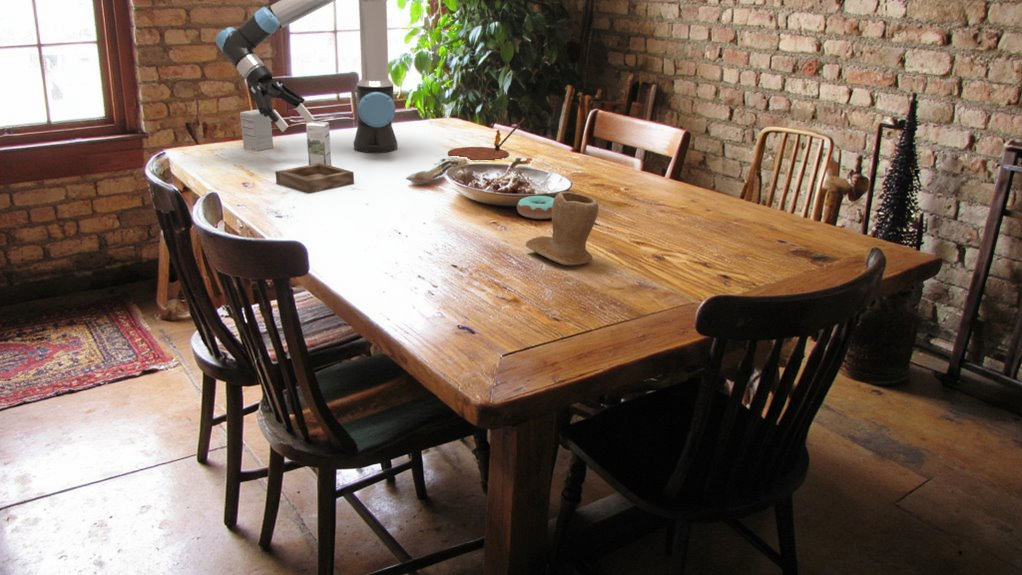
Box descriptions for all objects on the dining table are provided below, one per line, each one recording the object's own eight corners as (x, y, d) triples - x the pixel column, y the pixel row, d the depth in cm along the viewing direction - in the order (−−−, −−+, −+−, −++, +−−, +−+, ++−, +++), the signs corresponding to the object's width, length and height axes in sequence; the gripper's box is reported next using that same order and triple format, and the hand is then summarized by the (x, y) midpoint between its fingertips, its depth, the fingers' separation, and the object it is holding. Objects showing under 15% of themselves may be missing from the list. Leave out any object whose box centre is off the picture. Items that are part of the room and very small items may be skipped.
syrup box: (332, 167, 268) (329, 121, 262) (326, 171, 262) (323, 124, 257) (314, 166, 268) (311, 120, 263) (308, 170, 263) (305, 124, 257)
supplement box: (260, 145, 297) (256, 109, 292) (274, 148, 293) (270, 111, 288) (242, 148, 291) (239, 111, 287) (256, 151, 287) (253, 114, 283)
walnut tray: (321, 174, 259) (320, 163, 257) (354, 183, 249) (353, 171, 247) (276, 183, 248) (275, 171, 246) (308, 193, 238) (307, 181, 236)
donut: (509, 217, 219) (510, 202, 218) (526, 206, 230) (526, 192, 228) (553, 223, 215) (553, 208, 214) (567, 211, 226) (568, 197, 224)
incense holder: (436, 153, 291) (435, 120, 287) (506, 144, 308) (507, 113, 304) (469, 164, 276) (469, 130, 272) (542, 154, 292) (543, 122, 288)
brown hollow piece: (606, 263, 187) (610, 197, 181) (562, 272, 181) (565, 205, 175) (565, 244, 199) (568, 182, 193) (523, 252, 193) (525, 188, 187)
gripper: (274, 76, 274) (315, 126, 275) (222, 85, 253) (267, 140, 253) (286, 60, 271) (328, 111, 271) (234, 68, 249) (280, 124, 249)
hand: (299, 125), depth 262 cm, fingers open, 13 cm apart
